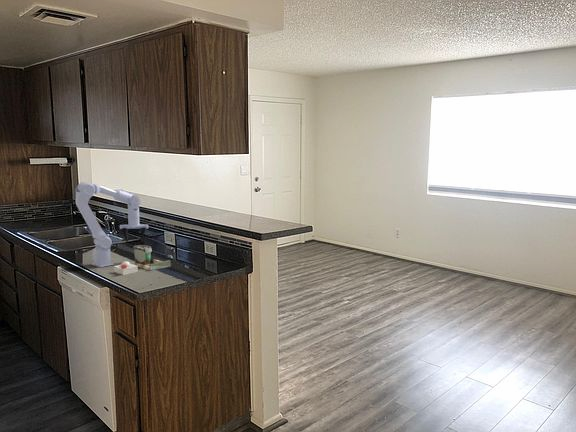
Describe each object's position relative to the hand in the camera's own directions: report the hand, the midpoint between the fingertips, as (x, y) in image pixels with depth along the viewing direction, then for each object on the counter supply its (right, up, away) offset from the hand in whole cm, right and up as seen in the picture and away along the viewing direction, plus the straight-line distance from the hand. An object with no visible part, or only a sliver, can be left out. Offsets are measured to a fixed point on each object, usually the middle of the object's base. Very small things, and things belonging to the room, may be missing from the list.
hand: (134, 241), depth 261 cm
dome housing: (+3, -14, -23) cm, 27 cm away
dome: (+3, -13, -23) cm, 26 cm away
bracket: (+12, -12, -10) cm, 20 cm away
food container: (+8, -12, -9) cm, 17 cm away
